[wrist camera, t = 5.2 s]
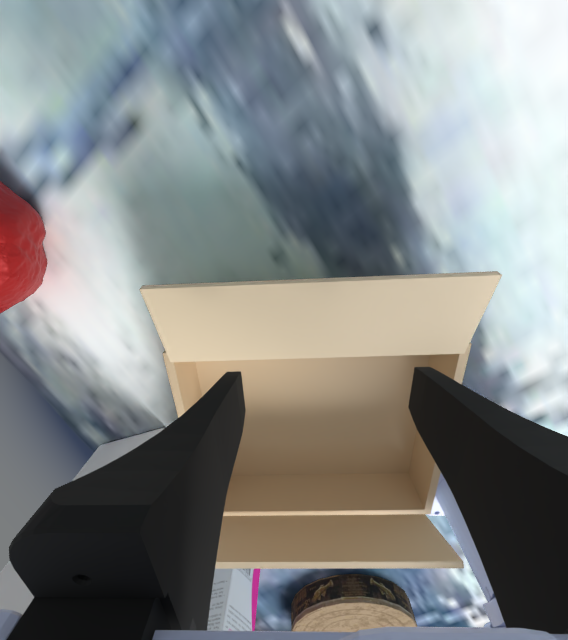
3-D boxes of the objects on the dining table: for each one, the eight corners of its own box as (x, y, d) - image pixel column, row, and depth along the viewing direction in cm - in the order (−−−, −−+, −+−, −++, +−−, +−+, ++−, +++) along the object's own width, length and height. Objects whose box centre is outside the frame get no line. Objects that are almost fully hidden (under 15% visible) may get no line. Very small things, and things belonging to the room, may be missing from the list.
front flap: (464, 353, 17) (461, 349, 18) (501, 275, 14) (497, 271, 14) (170, 362, 18) (172, 357, 18) (139, 289, 15) (142, 285, 15)
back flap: (208, 516, 24) (208, 521, 24) (183, 562, 19) (183, 568, 19) (424, 514, 24) (425, 519, 24) (463, 561, 18) (463, 568, 18)
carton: (440, 319, 22) (471, 343, 18) (412, 472, 28) (430, 514, 24) (183, 328, 22) (162, 353, 19) (213, 475, 29) (202, 516, 25)
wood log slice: (346, 555, 34) (351, 587, 31) (433, 601, 38) (445, 632, 35) (268, 607, 39) (266, 638, 36) (351, 643, 43) (355, 673, 40)
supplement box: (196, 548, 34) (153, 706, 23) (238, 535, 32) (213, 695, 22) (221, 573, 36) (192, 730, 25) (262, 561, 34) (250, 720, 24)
